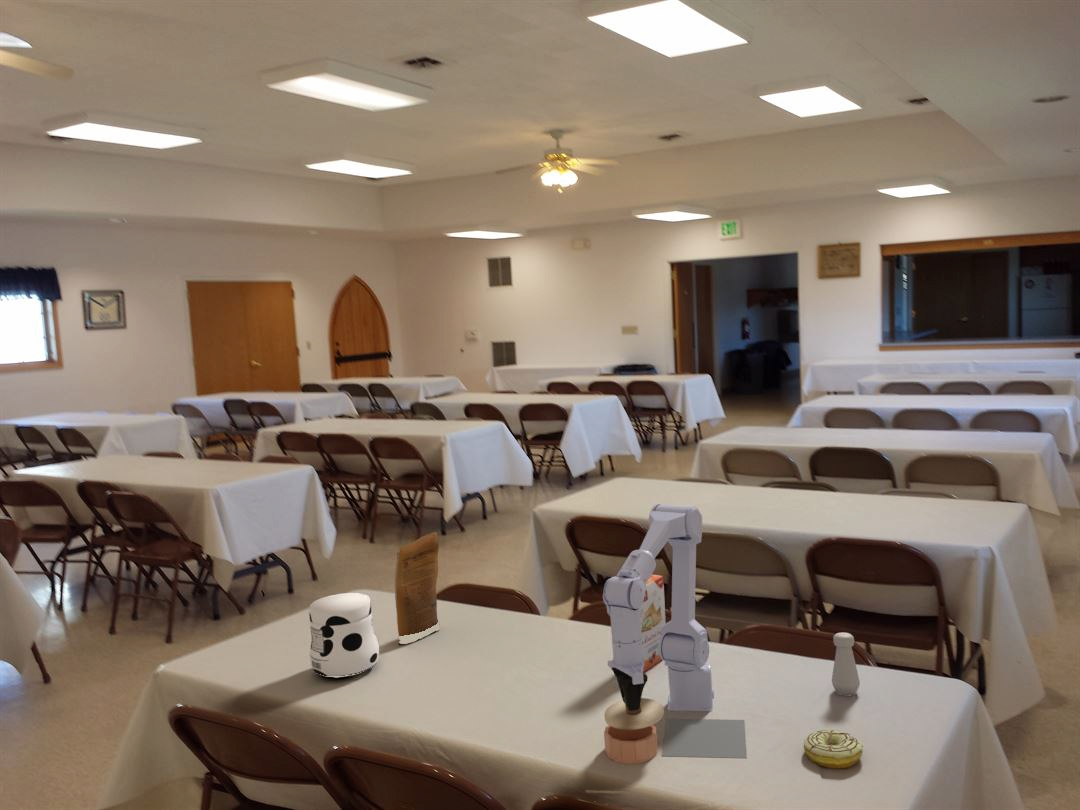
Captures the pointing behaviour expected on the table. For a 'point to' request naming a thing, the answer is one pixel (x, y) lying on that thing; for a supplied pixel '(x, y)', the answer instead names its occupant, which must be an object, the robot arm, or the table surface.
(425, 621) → the pancake mix bag
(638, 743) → the bowl
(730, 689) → the table surface
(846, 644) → the salt shaker
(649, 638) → the cracker box
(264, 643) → the table surface
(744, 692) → the table surface
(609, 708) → the lid
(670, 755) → the mat
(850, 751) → the decorated donut
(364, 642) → the milk container
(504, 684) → the table surface
